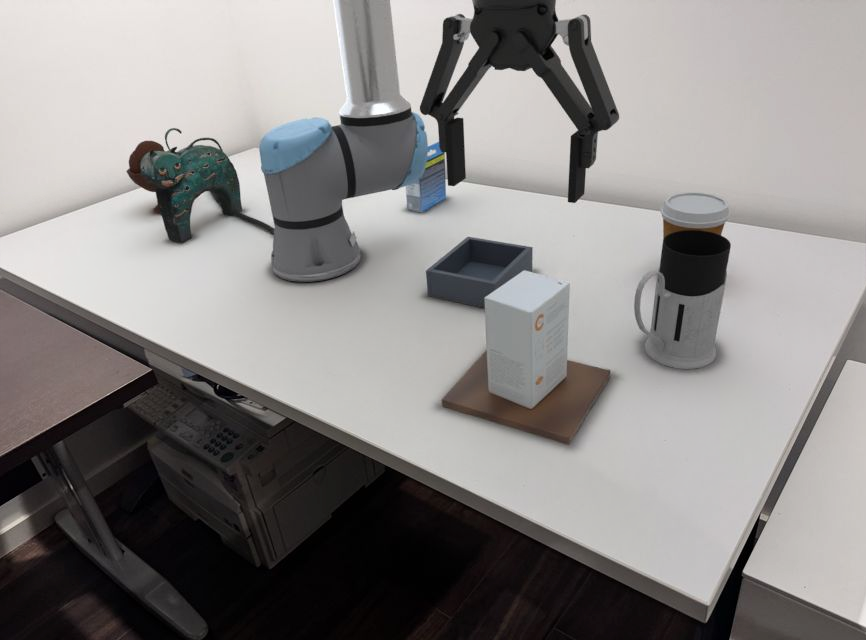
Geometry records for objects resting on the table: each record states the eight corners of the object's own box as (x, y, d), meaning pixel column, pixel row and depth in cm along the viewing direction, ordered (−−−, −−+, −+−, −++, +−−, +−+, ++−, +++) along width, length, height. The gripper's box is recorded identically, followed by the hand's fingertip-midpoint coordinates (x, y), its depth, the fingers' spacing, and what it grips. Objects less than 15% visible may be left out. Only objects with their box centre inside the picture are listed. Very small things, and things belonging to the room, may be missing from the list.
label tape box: (432, 196, 141) (427, 136, 134) (448, 198, 139) (444, 139, 132) (406, 210, 135) (400, 149, 128) (422, 213, 133) (417, 151, 126)
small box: (523, 361, 85) (524, 268, 78) (567, 377, 81) (572, 281, 74) (486, 392, 80) (482, 296, 73) (531, 411, 76) (532, 312, 69)
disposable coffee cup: (722, 292, 98) (737, 215, 91) (654, 290, 100) (664, 214, 93) (713, 264, 106) (726, 191, 99) (650, 262, 108) (659, 190, 101)
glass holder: (730, 351, 85) (752, 242, 77) (657, 395, 79) (672, 281, 71) (673, 325, 92) (688, 221, 83) (601, 363, 85) (609, 256, 77)
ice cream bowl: (203, 203, 147) (184, 134, 139) (161, 221, 139) (139, 149, 131) (171, 197, 152) (152, 130, 144) (130, 214, 144) (106, 144, 136)
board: (441, 406, 80) (441, 399, 79) (493, 348, 90) (493, 341, 89) (569, 444, 73) (569, 437, 72) (610, 376, 83) (610, 370, 82)
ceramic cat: (178, 247, 127) (146, 141, 116) (155, 242, 130) (122, 138, 119) (251, 210, 141) (228, 112, 130) (228, 207, 144) (204, 111, 133)
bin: (427, 295, 104) (425, 270, 101) (468, 260, 113) (467, 236, 111) (495, 310, 98) (494, 284, 96) (532, 272, 108) (532, 247, 106)
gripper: (372, -37, 61) (394, 187, 73) (645, -47, 50) (620, 219, 62) (415, -45, 67) (429, 165, 78) (671, -55, 55) (643, 192, 67)
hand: (513, 190), depth 70 cm, fingers open, 13 cm apart
